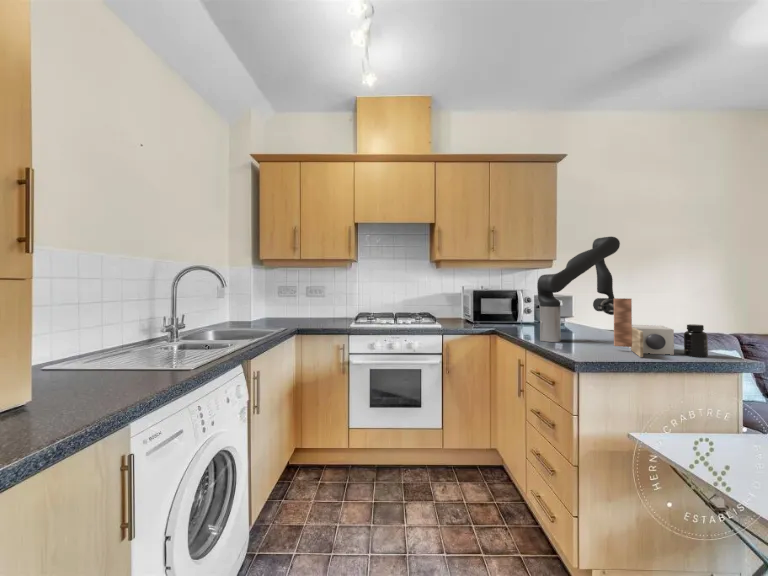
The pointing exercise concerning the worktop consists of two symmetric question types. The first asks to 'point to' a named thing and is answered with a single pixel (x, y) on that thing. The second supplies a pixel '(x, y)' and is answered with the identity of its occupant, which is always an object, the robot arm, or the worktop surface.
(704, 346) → the supplement bottle
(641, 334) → the wooden block
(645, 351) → the housing
